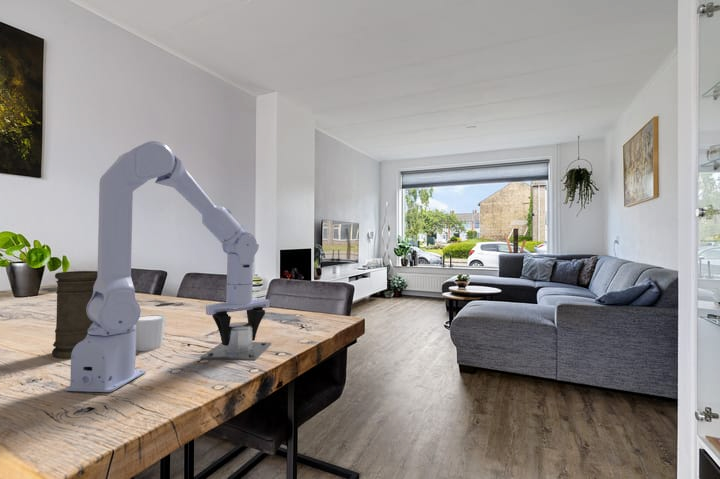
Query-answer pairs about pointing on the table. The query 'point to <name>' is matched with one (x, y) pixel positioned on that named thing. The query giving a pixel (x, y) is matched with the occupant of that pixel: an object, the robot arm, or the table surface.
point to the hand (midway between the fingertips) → (238, 342)
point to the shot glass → (149, 332)
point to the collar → (239, 337)
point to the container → (72, 310)
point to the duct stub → (252, 354)
